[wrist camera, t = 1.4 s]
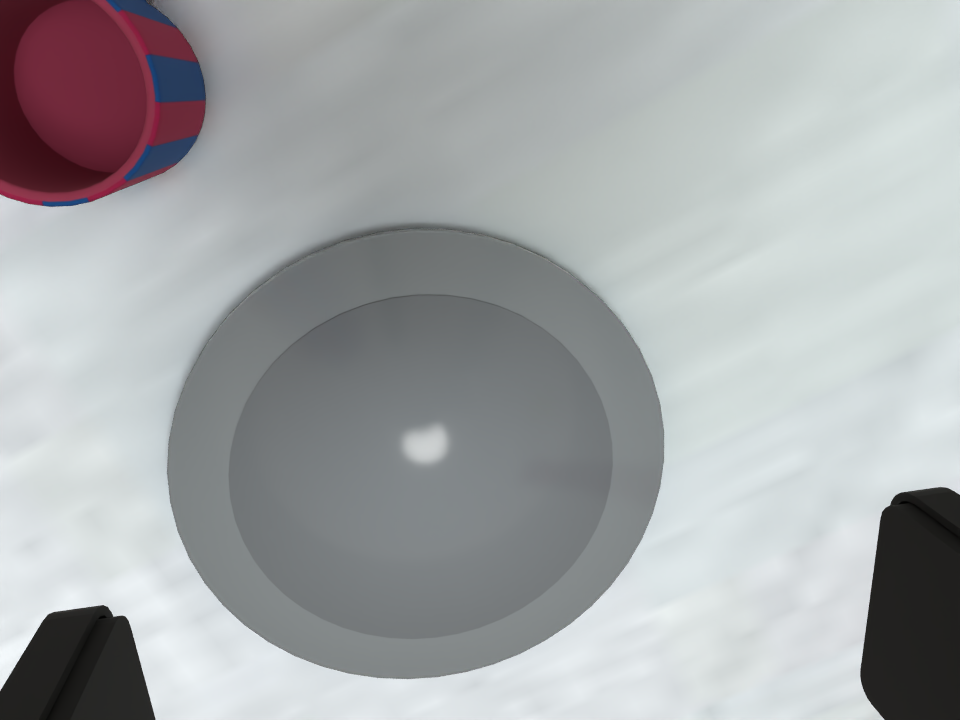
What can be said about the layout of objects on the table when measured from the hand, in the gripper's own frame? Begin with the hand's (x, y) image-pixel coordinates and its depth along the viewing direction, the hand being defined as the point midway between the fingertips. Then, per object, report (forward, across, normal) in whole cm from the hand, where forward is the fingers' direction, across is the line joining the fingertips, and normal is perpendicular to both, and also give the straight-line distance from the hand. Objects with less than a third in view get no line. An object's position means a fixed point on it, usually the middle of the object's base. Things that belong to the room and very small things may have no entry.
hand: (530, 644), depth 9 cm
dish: (+24, 0, +10) cm, 26 cm away
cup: (+24, +10, -9) cm, 27 cm away
